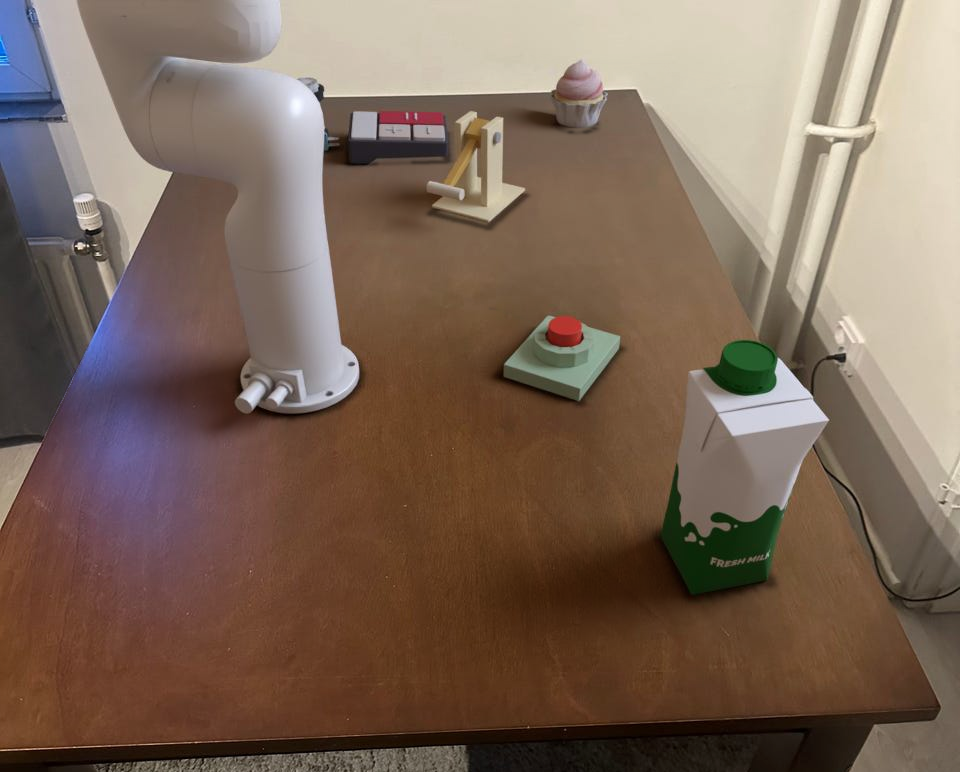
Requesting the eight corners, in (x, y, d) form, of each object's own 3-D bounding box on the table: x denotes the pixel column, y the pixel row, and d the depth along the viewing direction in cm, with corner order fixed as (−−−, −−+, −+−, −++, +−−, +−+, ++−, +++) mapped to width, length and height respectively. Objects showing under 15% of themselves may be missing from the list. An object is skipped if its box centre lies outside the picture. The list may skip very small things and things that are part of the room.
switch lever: (461, 205, 116) (457, 192, 114) (428, 197, 118) (424, 184, 116) (501, 136, 119) (498, 122, 117) (469, 129, 121) (465, 115, 119)
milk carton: (736, 514, 82) (789, 329, 68) (782, 588, 75) (852, 401, 61) (646, 530, 80) (681, 344, 66) (686, 607, 74) (734, 420, 60)
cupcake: (612, 118, 148) (618, 54, 141) (595, 139, 142) (601, 73, 135) (558, 110, 150) (562, 46, 143) (540, 131, 144) (543, 65, 137)
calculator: (448, 137, 133) (347, 135, 132) (447, 165, 136) (349, 163, 135) (445, 109, 141) (350, 107, 140) (445, 136, 144) (351, 134, 143)
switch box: (578, 401, 94) (581, 374, 91) (503, 377, 97) (503, 350, 94) (619, 348, 100) (622, 322, 98) (547, 327, 104) (548, 301, 101)
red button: (572, 352, 95) (573, 338, 93) (541, 342, 96) (542, 329, 95) (586, 335, 97) (587, 321, 96) (556, 326, 98) (557, 312, 97)
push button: (341, 141, 141) (334, 75, 134) (337, 155, 137) (329, 88, 130) (299, 141, 141) (290, 75, 134) (294, 155, 137) (284, 88, 130)
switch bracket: (488, 228, 121) (489, 141, 112) (431, 213, 124) (428, 127, 116) (525, 196, 128) (528, 112, 119) (470, 182, 131) (469, 99, 122)
